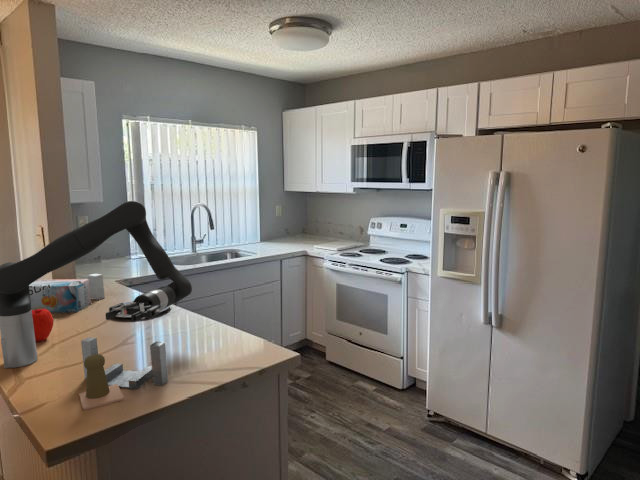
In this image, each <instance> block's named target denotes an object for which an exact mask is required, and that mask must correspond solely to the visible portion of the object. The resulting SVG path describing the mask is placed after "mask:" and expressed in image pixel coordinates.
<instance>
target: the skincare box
mask: <svg viewBox="0 0 640 480" xmlns="http://www.w3.org/2000/svg"><path fill="white" fill-rule="evenodd" d="M87 277H88V278H87V279H89V281H90V294H91V300H95V301H96V300H97V301H98V300H102V299H105V287H104V286H105V285H104V275H103V274H100V273H92V274H91V273H90V274H88V276H87Z"/></svg>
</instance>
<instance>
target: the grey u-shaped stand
mask: <svg viewBox="0 0 640 480" xmlns="http://www.w3.org/2000/svg"><path fill="white" fill-rule="evenodd" d="M80 344H81V354H82V362H83V365H82V366H83V373H84V379H85V380H87V369H86V368H85V366H84V360H85V359H86V358H87V357H88V356H90V355H94V354H99V349H98V348H99V347H98V338H97V337H91V336H88V337H86V338H84V339H82V340H80ZM149 346H150V347H149V349H150V358H151V359H150V360H151V363H150V364H151V365H148V366H147V367H145V368H144V369H143V370H141V371H139V370H126V369H124V367H123V366H124V365H123V363H114V364H113V365H111V366H109V367H108V368H106V369H104V371H105V375H106V378H107V382H108V386H111V385H115V384H118V386H119V388H120V389H128V390H139V388H141V387H142V386H144V385H145V384H146V383H147V382H149V380H151V379H152V384H153V386H164V385H165V384H166V383H167V382H169V375H168V365H167V364H168V363H167V362H168V361H167V360H168V359H167V350H166V341H165V342H164V341H154V342H153V343H152V344H150V345H149Z"/></svg>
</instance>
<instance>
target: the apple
mask: <svg viewBox="0 0 640 480" xmlns="http://www.w3.org/2000/svg"><path fill="white" fill-rule="evenodd" d="M32 317H33V325H34V333H35V341H36V342H42V341H45V340H46V339H48V338H49V336H50V334H51V332H52V331H53V327H54V318H53V315H52V313H50V311H48V310H47V309H35V310H32Z"/></svg>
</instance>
